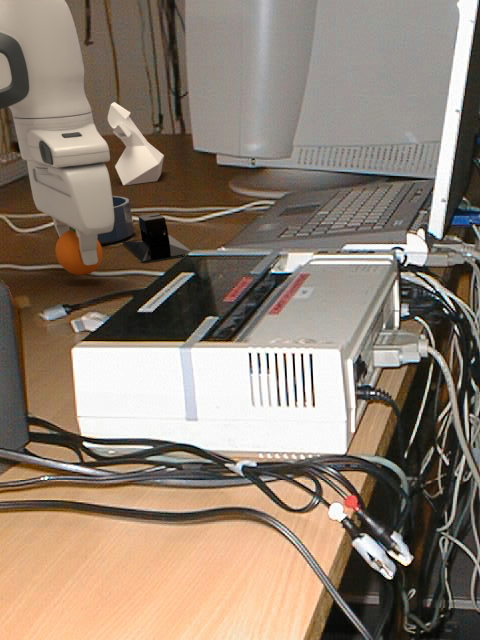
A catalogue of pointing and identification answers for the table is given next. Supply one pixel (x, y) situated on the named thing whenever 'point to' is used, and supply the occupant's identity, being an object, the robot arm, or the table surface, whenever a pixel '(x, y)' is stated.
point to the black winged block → (155, 241)
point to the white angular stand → (134, 150)
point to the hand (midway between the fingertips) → (80, 258)
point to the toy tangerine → (74, 254)
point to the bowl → (118, 222)
